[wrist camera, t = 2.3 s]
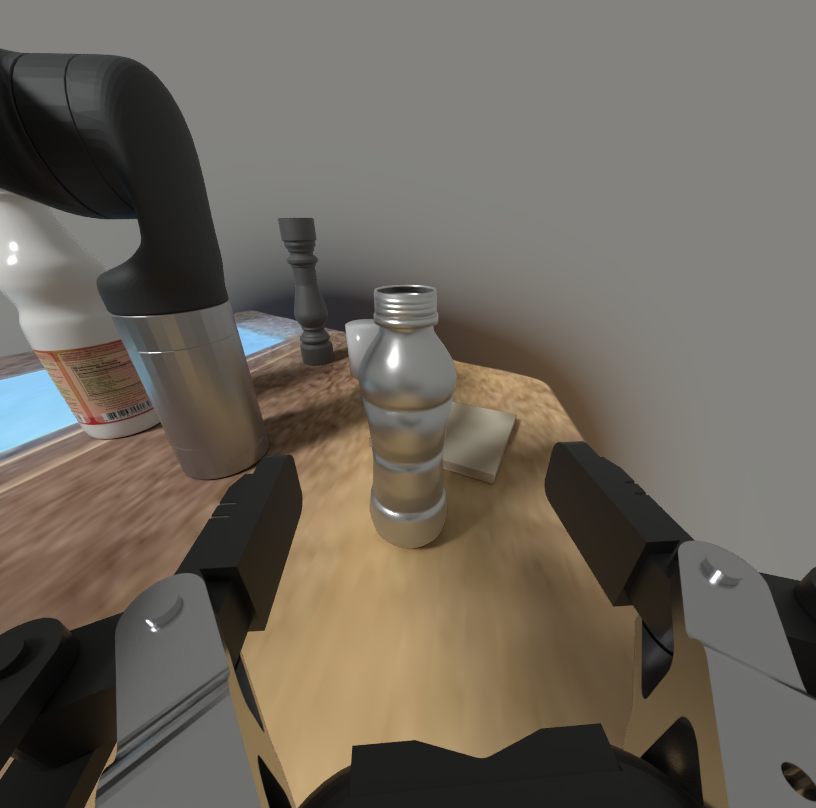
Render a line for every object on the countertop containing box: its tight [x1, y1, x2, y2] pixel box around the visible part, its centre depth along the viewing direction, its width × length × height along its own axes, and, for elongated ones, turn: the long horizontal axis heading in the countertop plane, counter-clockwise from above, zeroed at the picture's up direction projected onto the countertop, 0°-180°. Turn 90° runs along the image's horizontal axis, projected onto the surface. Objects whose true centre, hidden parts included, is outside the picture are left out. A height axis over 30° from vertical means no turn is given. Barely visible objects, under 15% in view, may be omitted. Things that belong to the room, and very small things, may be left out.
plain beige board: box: [369, 402, 516, 484], centre depth 40 cm, size 15×13×1 cm
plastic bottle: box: [358, 285, 457, 549], centre depth 23 cm, size 6×7×20 cm
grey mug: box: [345, 319, 379, 379], centre depth 56 cm, size 8×7×9 cm
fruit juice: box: [0, 188, 160, 439], centre depth 37 cm, size 9×9×28 cm
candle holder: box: [278, 218, 334, 365], centre depth 58 cm, size 6×6×25 cm
